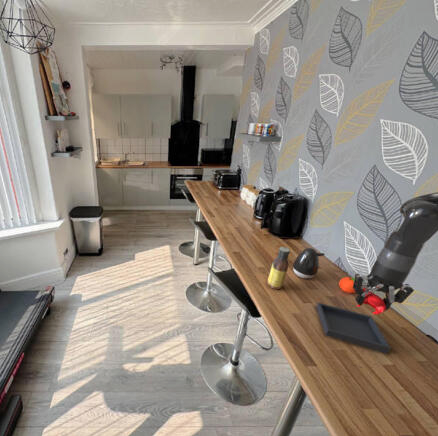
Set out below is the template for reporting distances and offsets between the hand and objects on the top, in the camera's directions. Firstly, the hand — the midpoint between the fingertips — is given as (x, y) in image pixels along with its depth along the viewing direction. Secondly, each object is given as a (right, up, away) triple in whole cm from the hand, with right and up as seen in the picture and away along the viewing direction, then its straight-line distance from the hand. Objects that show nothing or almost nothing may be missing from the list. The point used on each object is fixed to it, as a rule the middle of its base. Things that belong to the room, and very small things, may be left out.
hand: (370, 306), depth 77 cm
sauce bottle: (-15, -3, +31) cm, 35 cm away
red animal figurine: (0, -2, +1) cm, 2 cm away
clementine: (+18, -5, +30) cm, 35 cm away
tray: (+2, -12, +11) cm, 16 cm away
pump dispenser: (+4, 0, +39) cm, 40 cm away
